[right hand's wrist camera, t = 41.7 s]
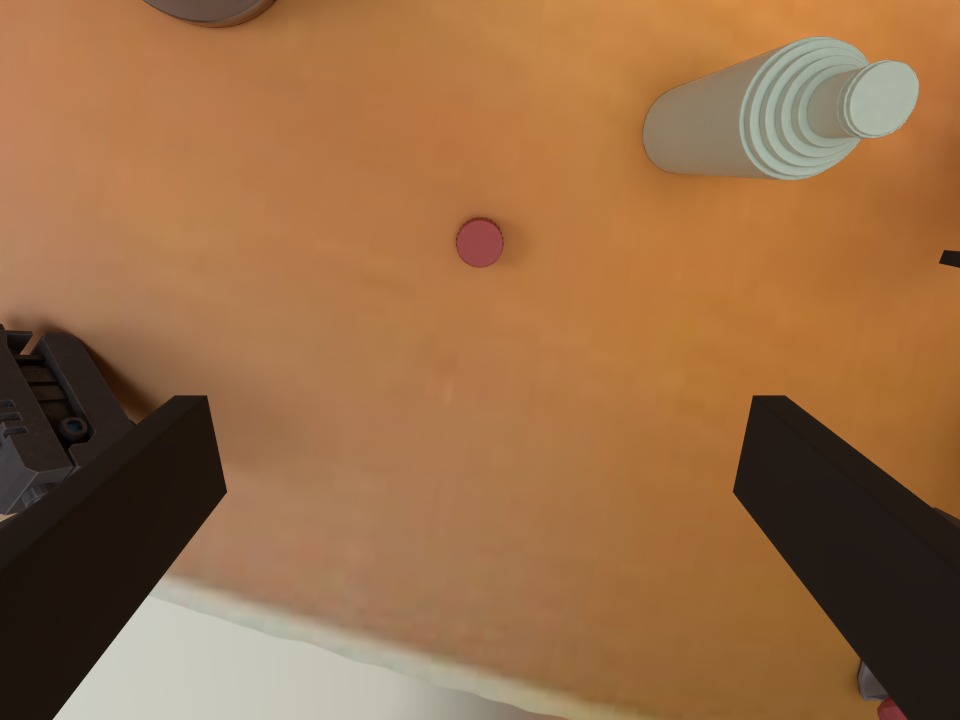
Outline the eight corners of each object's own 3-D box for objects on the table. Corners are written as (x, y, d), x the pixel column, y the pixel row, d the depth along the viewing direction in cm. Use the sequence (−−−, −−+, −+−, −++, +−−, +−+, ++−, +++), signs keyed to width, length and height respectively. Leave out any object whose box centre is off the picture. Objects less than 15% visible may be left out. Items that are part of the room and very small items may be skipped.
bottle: (625, 136, 43) (769, 110, 22) (686, 65, 41) (908, -39, 20) (680, 190, 45) (864, 216, 23) (741, 124, 43) (1002, 87, 21)
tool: (177, 493, 52) (-6, 540, 38) (94, 354, 57) (-96, 349, 43) (211, 456, 51) (33, 490, 37) (123, 315, 55) (-65, 298, 41)
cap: (510, 251, 47) (511, 255, 45) (469, 271, 47) (468, 275, 45) (490, 209, 45) (491, 211, 43) (449, 229, 46) (447, 232, 44)
